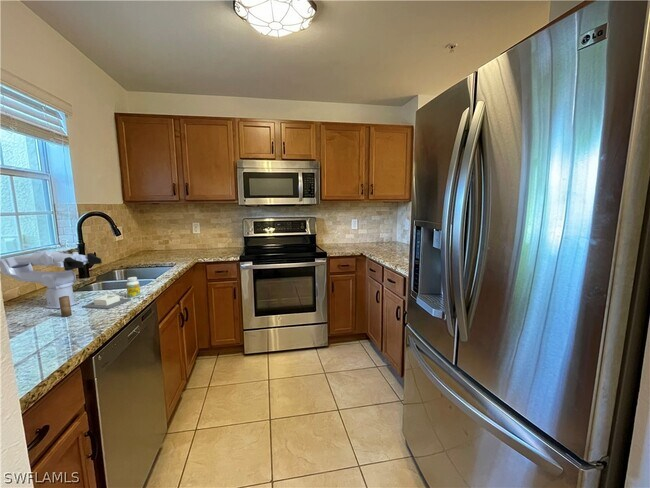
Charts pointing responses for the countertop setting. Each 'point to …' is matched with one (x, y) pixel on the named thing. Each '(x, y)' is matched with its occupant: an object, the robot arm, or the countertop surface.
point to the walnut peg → (65, 306)
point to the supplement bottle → (133, 287)
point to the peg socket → (106, 302)
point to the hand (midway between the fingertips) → (92, 263)
